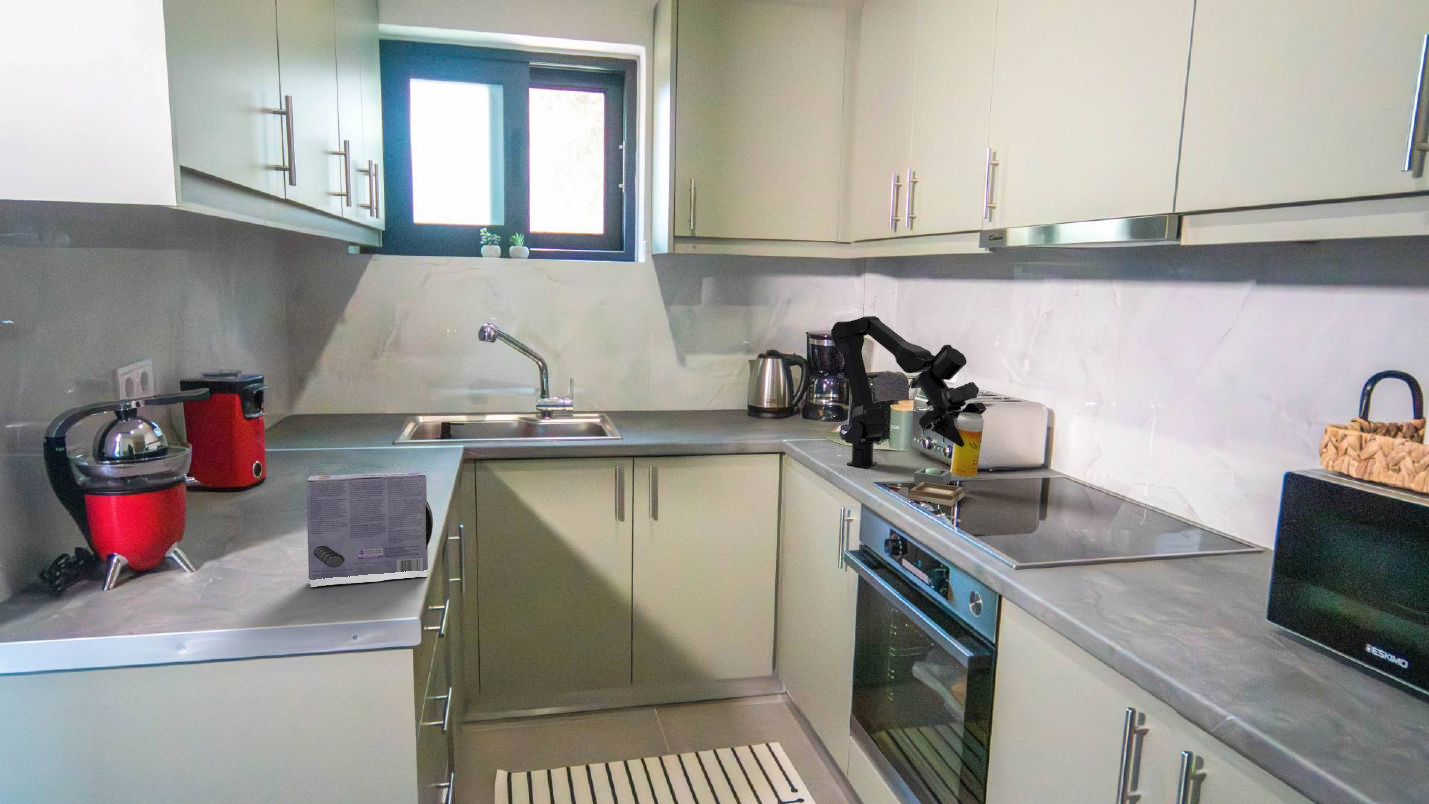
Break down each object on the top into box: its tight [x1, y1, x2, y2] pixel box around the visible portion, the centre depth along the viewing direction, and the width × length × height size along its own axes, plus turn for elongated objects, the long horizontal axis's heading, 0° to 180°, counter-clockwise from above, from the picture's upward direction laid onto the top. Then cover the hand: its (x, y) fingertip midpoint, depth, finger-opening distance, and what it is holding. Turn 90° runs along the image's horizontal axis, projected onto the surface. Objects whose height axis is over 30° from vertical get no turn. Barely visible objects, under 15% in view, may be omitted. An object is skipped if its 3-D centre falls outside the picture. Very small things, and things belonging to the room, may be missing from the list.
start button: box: [925, 467, 942, 475], centre depth 211 cm, size 4×4×2 cm
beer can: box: [949, 412, 985, 480], centre depth 204 cm, size 6×6×15 cm
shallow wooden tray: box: [907, 482, 965, 507], centre depth 198 cm, size 10×10×2 cm
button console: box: [913, 467, 952, 486], centre depth 212 cm, size 7×7×3 cm
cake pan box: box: [306, 471, 434, 580], centre depth 142 cm, size 19×5×18 cm, turn 109°
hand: (971, 444), depth 203 cm, fingers closed on beer can, 6 cm apart
